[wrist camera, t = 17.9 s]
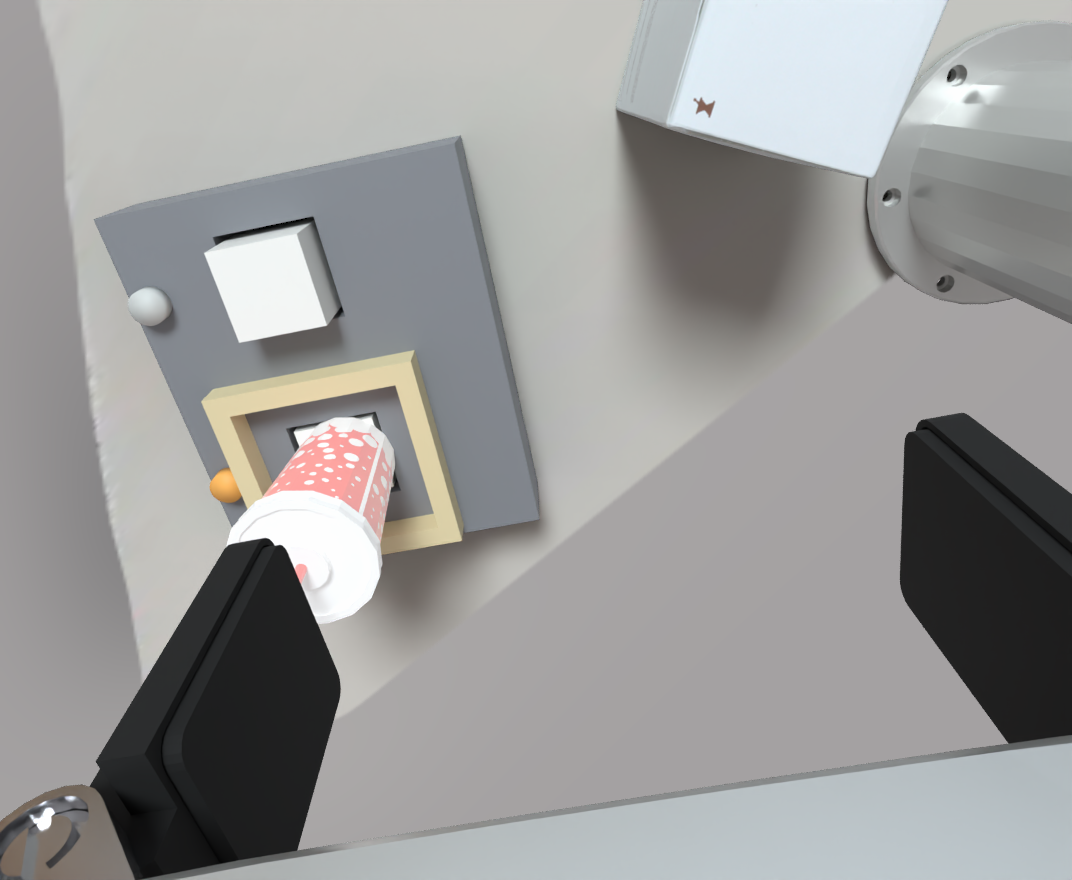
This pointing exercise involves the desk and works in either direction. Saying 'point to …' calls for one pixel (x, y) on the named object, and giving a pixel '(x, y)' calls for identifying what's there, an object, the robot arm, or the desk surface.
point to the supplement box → (781, 74)
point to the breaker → (275, 280)
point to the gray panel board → (344, 337)
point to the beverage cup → (329, 514)
